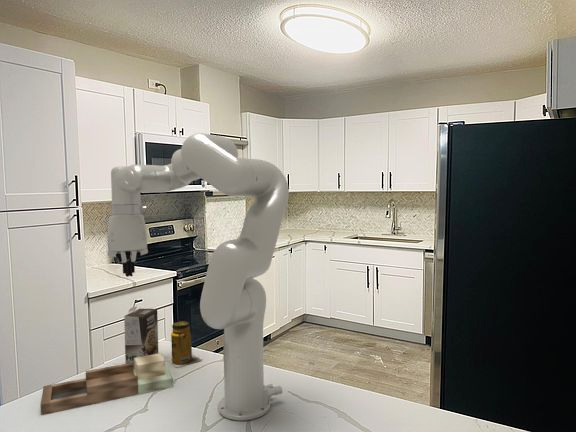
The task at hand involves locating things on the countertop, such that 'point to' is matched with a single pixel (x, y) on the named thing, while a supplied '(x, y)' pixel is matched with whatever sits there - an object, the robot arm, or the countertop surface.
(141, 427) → the countertop surface
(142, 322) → the coffee box
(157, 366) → the birch block
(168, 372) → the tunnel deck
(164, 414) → the countertop surface
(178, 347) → the condiment
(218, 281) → the robot arm
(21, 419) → the countertop surface
